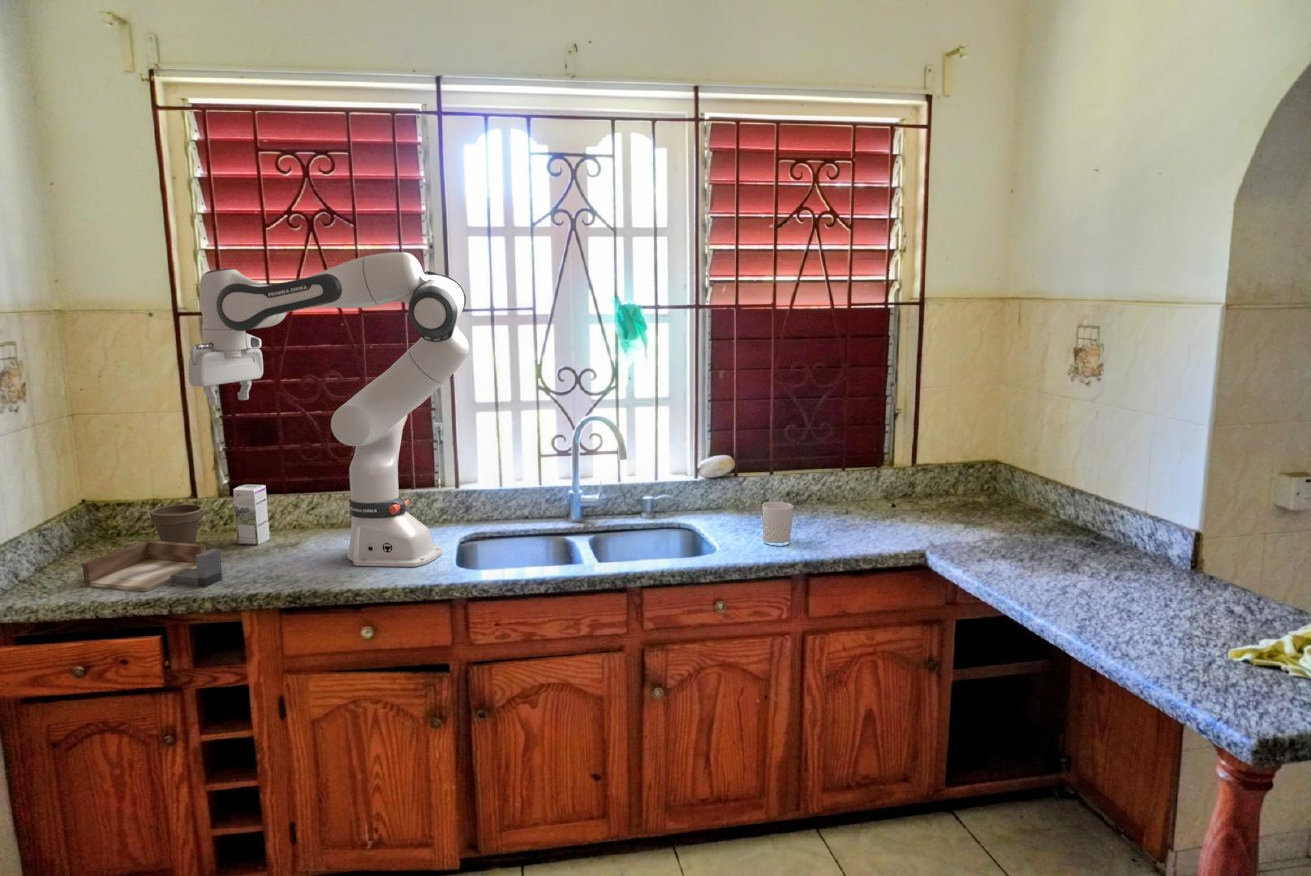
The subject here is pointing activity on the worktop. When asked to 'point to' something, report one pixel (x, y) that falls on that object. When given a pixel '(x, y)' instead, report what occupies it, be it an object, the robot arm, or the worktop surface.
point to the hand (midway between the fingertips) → (229, 402)
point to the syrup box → (251, 514)
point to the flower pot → (177, 522)
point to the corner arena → (141, 565)
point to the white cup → (777, 521)
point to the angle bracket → (201, 571)
